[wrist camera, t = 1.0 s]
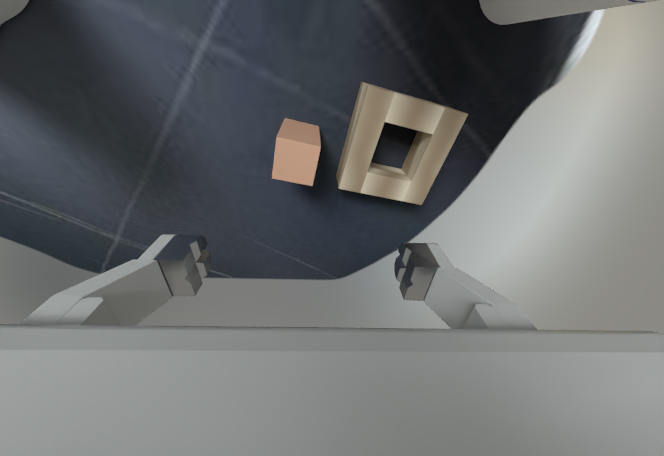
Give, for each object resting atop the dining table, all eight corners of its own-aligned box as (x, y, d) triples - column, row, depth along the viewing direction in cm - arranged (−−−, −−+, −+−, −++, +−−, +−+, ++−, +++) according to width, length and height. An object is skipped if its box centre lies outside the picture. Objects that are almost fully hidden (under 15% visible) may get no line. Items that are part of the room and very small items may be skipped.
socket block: (335, 175, 32) (338, 188, 29) (361, 81, 27) (368, 85, 23) (411, 190, 35) (421, 205, 31) (450, 107, 29) (468, 114, 25)
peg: (280, 151, 30) (271, 178, 24) (284, 118, 28) (276, 136, 22) (312, 158, 31) (312, 186, 25) (318, 126, 29) (321, 146, 22)
